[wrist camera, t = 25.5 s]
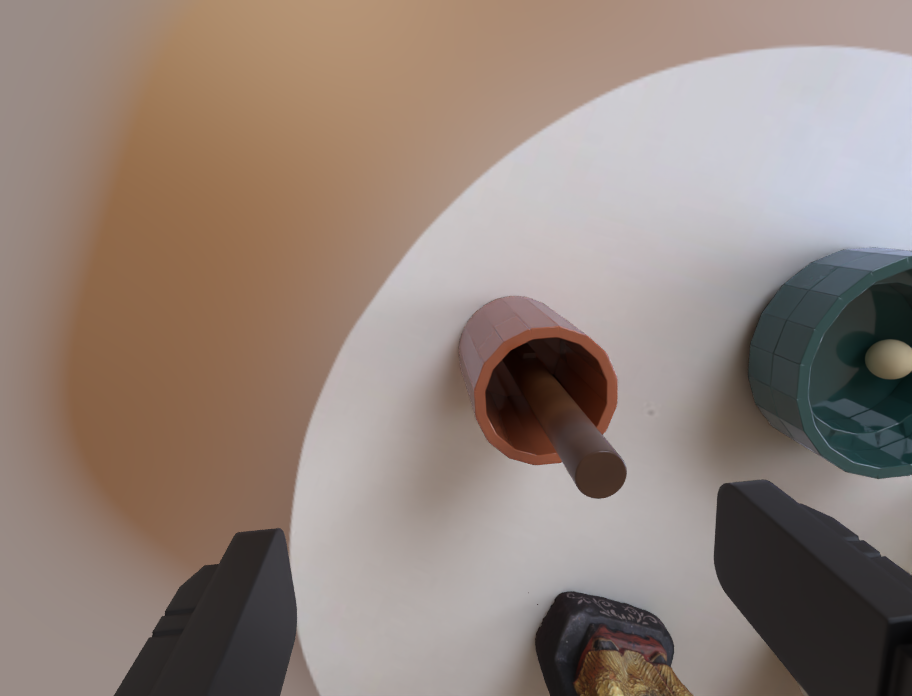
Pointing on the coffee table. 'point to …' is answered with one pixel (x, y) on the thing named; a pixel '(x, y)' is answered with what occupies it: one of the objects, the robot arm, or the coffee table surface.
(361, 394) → the coffee table surface
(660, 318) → the coffee table surface
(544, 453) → the crock
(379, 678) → the coffee table surface
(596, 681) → the statue
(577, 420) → the stick
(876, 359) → the dough ball
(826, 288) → the bowl
